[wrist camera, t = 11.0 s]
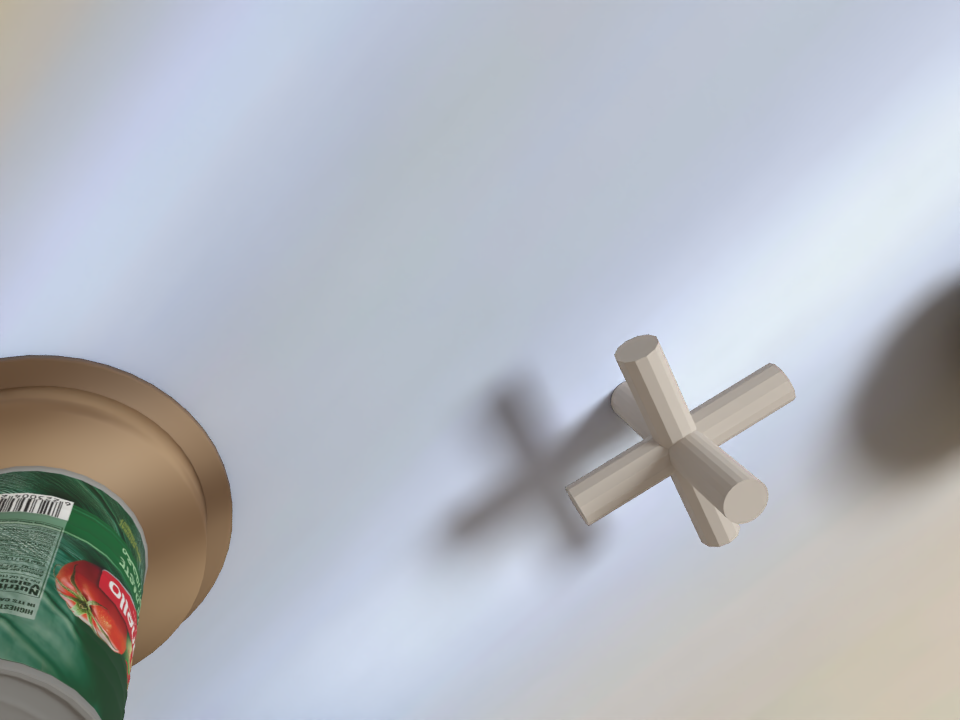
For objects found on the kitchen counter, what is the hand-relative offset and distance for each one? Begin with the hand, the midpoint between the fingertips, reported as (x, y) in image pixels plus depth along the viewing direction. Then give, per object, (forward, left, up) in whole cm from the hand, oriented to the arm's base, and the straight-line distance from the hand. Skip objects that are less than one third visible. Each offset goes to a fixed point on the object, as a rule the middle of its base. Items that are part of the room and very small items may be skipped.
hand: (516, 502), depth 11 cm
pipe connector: (+13, +11, -26) cm, 31 cm away
